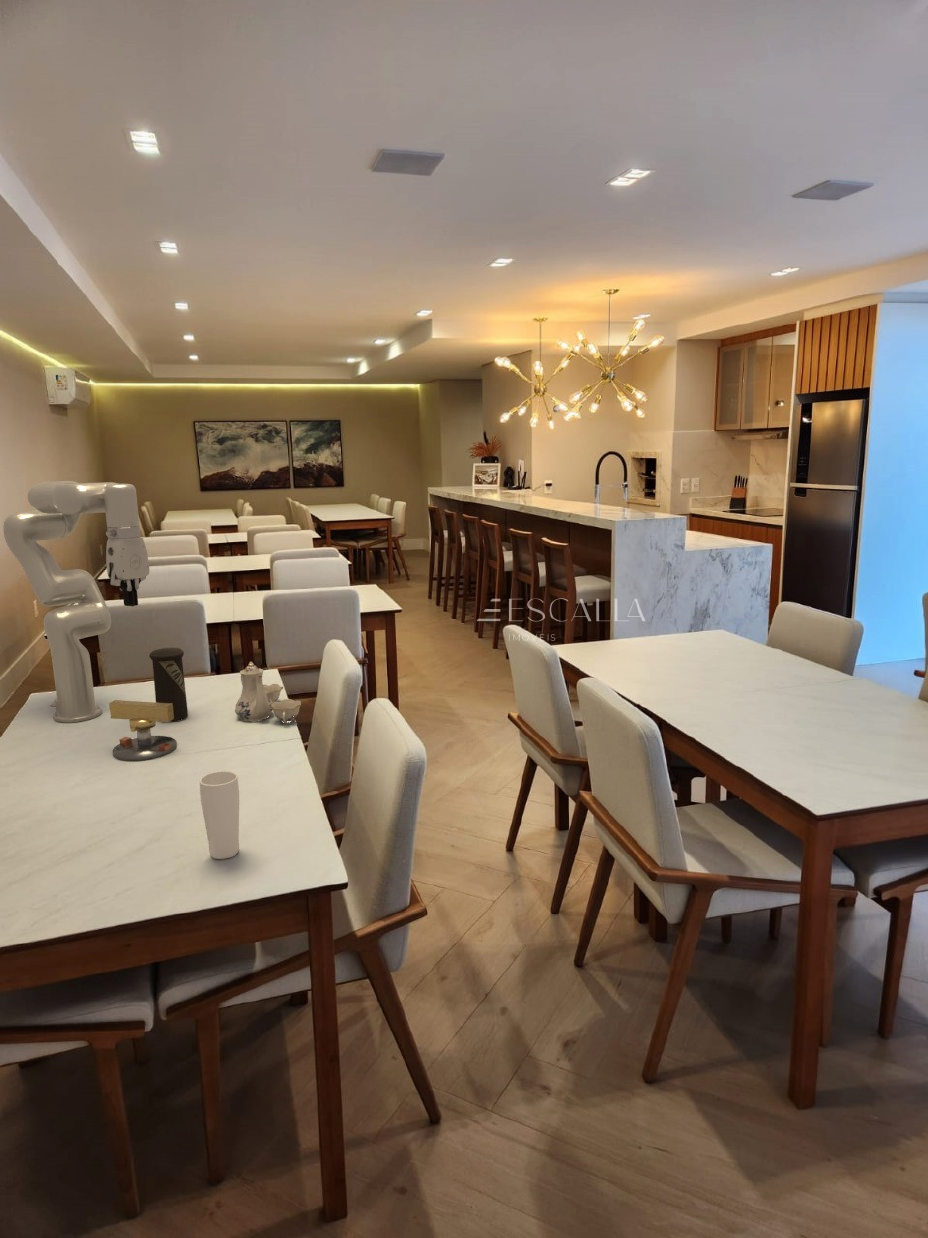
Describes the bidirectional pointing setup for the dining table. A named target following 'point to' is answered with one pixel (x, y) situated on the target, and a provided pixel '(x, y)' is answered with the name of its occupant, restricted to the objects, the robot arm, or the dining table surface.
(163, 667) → the container
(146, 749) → the post base
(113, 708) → the gold bar handle
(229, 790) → the drinking glass
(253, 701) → the chinaware
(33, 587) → the robot arm
